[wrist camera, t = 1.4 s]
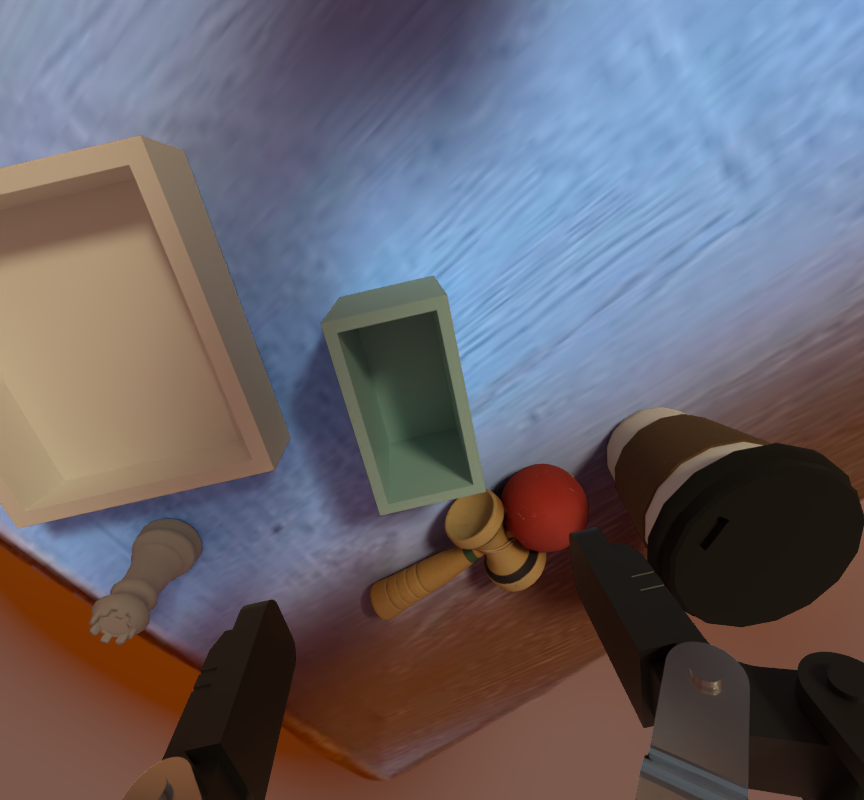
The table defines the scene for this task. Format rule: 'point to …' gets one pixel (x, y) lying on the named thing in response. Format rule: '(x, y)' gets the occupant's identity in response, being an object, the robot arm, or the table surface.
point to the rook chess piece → (145, 578)
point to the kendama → (495, 537)
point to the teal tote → (405, 393)
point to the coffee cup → (733, 515)
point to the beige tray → (121, 338)
